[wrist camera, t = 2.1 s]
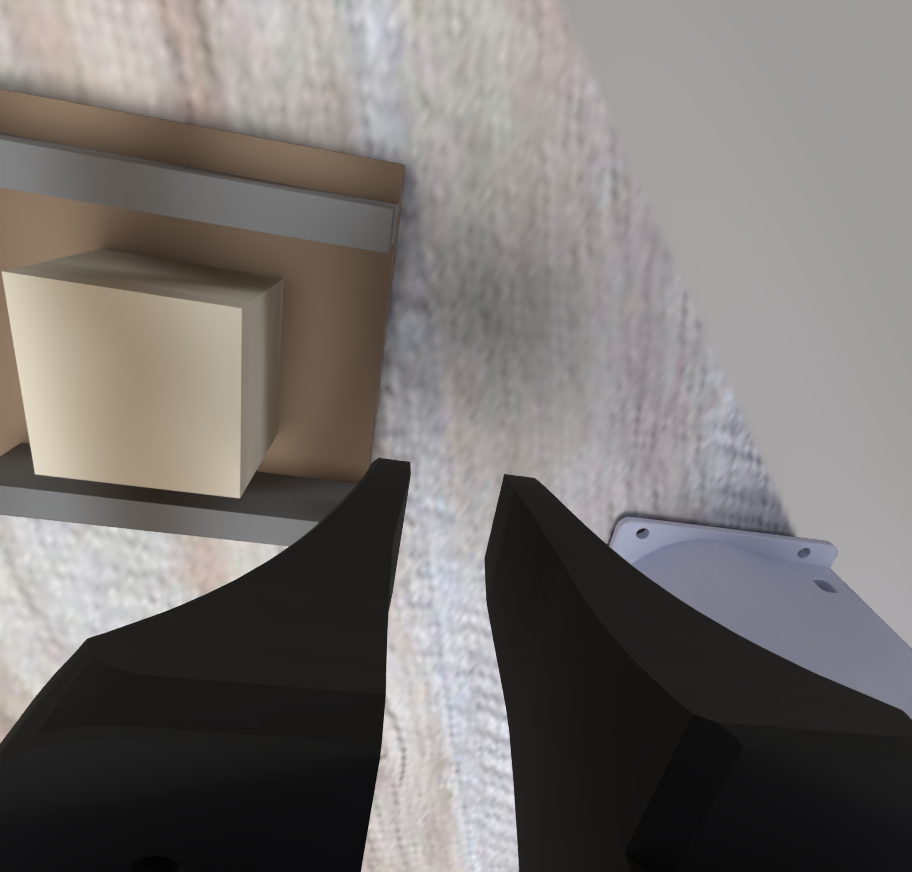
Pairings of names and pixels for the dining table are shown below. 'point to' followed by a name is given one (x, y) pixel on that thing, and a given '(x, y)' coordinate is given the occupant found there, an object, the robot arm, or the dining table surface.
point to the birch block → (147, 369)
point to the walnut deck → (223, 246)
